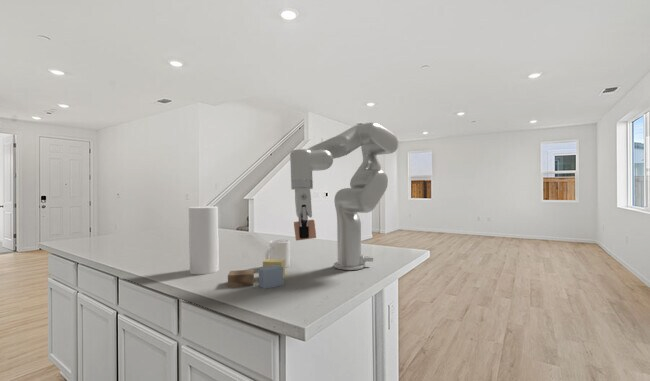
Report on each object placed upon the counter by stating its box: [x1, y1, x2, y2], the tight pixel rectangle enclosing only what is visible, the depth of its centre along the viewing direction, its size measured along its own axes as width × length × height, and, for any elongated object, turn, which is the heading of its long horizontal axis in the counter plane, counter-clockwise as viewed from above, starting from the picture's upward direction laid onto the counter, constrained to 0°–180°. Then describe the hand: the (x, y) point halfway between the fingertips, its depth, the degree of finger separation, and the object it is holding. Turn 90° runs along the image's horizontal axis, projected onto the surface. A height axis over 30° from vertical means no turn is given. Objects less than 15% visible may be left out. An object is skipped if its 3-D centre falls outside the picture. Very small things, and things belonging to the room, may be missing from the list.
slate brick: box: [258, 265, 284, 290], centre depth 108 cm, size 7×4×6 cm, turn 124°
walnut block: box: [227, 269, 255, 288], centre depth 110 cm, size 8×6×4 cm
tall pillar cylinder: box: [188, 205, 220, 275], centre depth 127 cm, size 11×11×25 cm
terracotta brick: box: [293, 219, 317, 242], centre depth 115 cm, size 7×4×6 cm, turn 98°
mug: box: [264, 239, 291, 269], centre depth 132 cm, size 12×8×10 cm
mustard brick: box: [262, 258, 286, 278], centre depth 118 cm, size 7×4×6 cm, turn 79°
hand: (303, 236), depth 115 cm, fingers closed on terracotta brick, 4 cm apart
